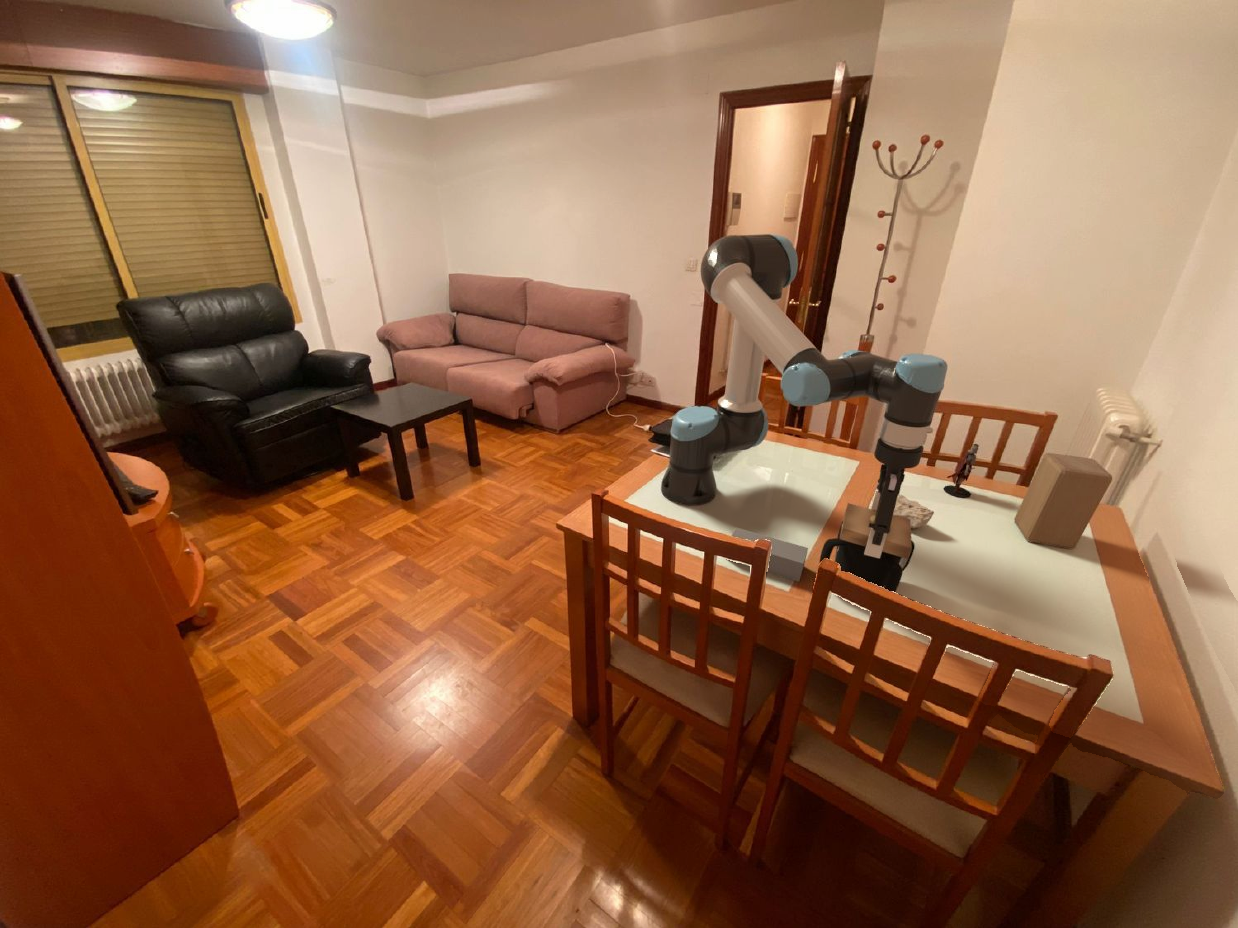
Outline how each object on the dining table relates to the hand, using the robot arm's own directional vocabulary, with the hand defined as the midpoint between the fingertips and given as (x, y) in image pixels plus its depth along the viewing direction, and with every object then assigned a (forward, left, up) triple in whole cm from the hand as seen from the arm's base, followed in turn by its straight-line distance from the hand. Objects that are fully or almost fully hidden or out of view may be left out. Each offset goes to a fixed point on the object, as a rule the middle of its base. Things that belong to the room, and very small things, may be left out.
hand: (873, 537), depth 101 cm
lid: (0, 0, 0) cm, 1 cm away
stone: (+6, +30, -12) cm, 33 cm away
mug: (0, 0, -12) cm, 12 cm away
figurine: (+21, +54, -12) cm, 59 cm away
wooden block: (+38, +40, -12) cm, 57 cm away
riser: (-19, -3, -12) cm, 23 cm away
